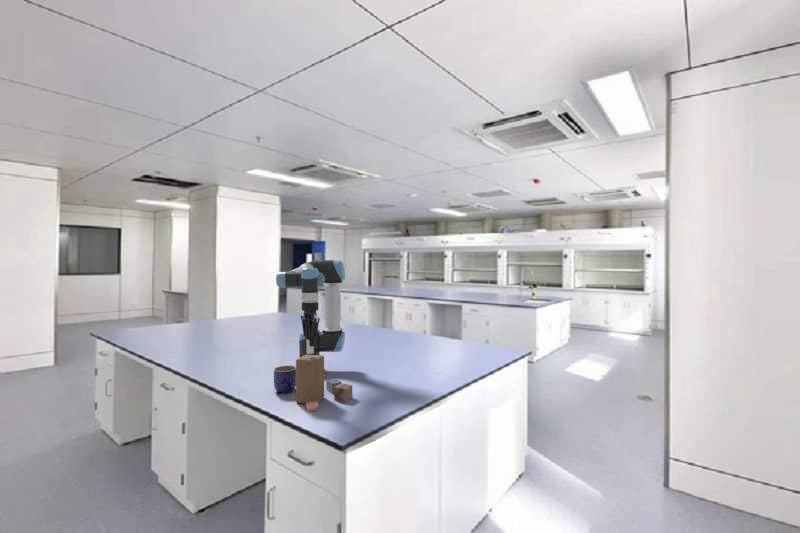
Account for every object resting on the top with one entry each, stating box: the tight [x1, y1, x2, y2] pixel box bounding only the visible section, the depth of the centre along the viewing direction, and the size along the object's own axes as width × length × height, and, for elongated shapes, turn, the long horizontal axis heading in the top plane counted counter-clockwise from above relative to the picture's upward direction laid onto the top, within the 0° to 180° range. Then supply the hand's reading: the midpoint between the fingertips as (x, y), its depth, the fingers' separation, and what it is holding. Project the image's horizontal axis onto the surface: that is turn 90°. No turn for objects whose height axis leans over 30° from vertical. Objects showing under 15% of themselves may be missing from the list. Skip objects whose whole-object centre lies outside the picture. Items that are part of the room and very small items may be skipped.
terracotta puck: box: [306, 401, 319, 413], centre depth 160 cm, size 5×5×3 cm
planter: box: [273, 365, 296, 394], centre depth 183 cm, size 11×11×11 cm
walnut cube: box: [333, 383, 353, 403], centre depth 173 cm, size 6×6×6 cm
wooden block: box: [295, 354, 325, 405], centre depth 171 cm, size 10×10×20 cm
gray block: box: [325, 378, 342, 395], centre depth 183 cm, size 7×5×5 cm
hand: (310, 353), depth 170 cm, fingers closed
